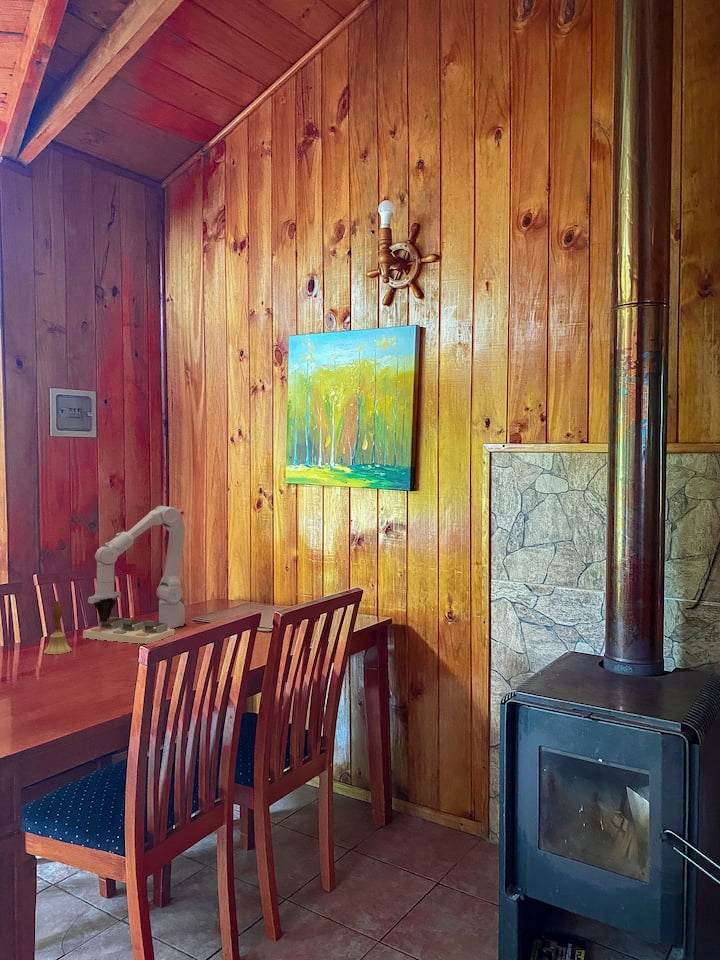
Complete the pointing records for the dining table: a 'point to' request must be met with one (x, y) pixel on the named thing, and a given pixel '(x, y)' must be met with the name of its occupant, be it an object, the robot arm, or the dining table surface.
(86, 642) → the dining table surface
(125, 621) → the rocker middle
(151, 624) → the block
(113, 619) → the rocker
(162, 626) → the switch panel
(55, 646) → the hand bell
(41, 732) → the dining table surface
